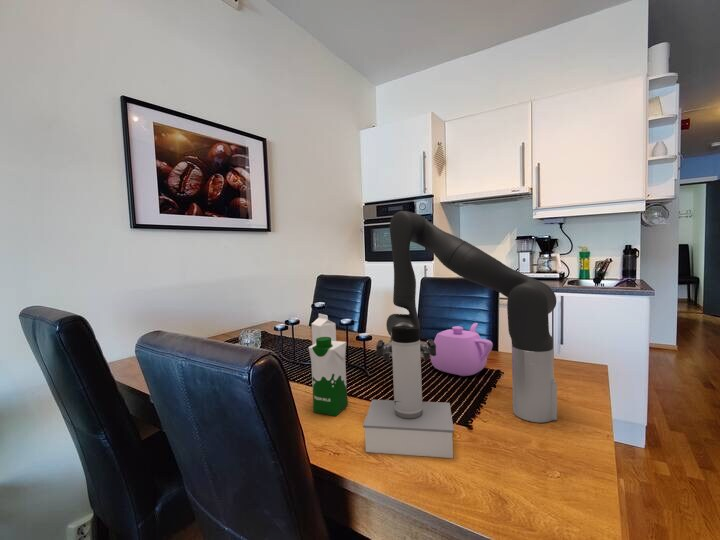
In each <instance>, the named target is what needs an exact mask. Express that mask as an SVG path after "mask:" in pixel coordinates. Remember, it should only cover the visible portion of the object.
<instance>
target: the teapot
mask: <svg viewBox="0 0 720 540" xmlns="http://www.w3.org/2000/svg"><path fill="white" fill-rule="evenodd" d="M478 324H479V323H478V322H474V323H473V324H472V325H471V326H470V328H469V330H464V327H462V326H458V325H455V326H452V327H451V328H450V329H446V330H442V331H440V332H437V334H436V336H435V338H434V340H433V341H434V343H435V344H436V356H432V355H431V354H430V363H431V365H432V366H433V367H434V369H436V370H439V371H440V372H443V373H447V374H451V375H458V376H459V377H467V376H469V377H470V376H473V375H476V374H478V373H479V372H481V371H482V370H484V368H485V367H486V365H487V362H488V355H489V354H490V353H491V352H492V350H493V348H494V347H493V346H494V344H493V342H492V341H491V340H489V339H485V338H482V337H481V336H480V334H479V333H478V332H477V327H478Z"/></svg>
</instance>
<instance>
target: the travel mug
mask: <svg viewBox="0 0 720 540" xmlns="http://www.w3.org/2000/svg"><path fill="white" fill-rule="evenodd" d="M391 330H392V356H391V357H392V377H393V378H392V380H393V400H394V405H395V406H394V408H395V414H396V415H397V416H399V417H401V418H405V419H413V418H417V417H419V416H421V415H422V413H423V408H422V402H423V388H422V387H423V386H422V381H423V380H422V363H421V362H422V359H421V355H420V341H421V339H420V331H419V327H413V326H412V327H405V326H394V327H391Z"/></svg>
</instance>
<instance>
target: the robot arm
mask: <svg viewBox="0 0 720 540" xmlns="http://www.w3.org/2000/svg"><path fill="white" fill-rule="evenodd" d="M389 237H390V244H391V253H392V261H393V262H392V263H393V294H392V295H393V297H392V298H393V300H392V302H393V305H394V306H395V307H399V308H401V309H405V310H406V311H407V312H408V314H404V313H392V314H390V315H389V316H388V317H387V319H386V325H385V326H386V330H387V331H386V332H388V335H389V336H390V340H389V341H388V342H385V341H384V340H383V339H379V340H378V341H377V344H376V347H375V348H376V349H375V350H376V357H382V356H383V360H386V362H390V357H392V330H391V327H394V326H405V327H412V326H413V327H419V332H420V330H421V325H420V320H419V317H418V316H419V315H418V313H417V307H416V295H417V290H416V289H417V280H416V274H415V270H414V267H413V264H412V260H411V253H410V252H411V251H410V250H411V249H410V248H411V246H410V245H411V243H415V244H417V245H419V246H422V247H423V248H425V249H427V250H429V251H430V252H431V253H432V254H433V255H434V256H435V257H436V259H438V261H439V262H440V263H441V264H442V265H443V266H444V267H445V268H446V269H448V270H449V271H451V272H453V273H454V274H456V275H457V276H459V277H461V278H463V279H464V280H467V281H469V282H471V283H474V284H477V285H481V286H483V287H486V288H489V289H491V290H494V291H496V292H498V293H499V294H501V295H503V296H504V297H506V298H507V302H506V305H507V306H506V310H507V327H508V334H509V337H510V340H511V369H512V370H511V371H512V372H511V373H512V377H511V378H512V380H511V381H512V382H511V383H512V384H511V385H512V412H513V414H514V415H515V416H516V417H517V418H519V419H522V420H524V421H527V422H532V423H548V422H551V421H558V383H557V380H556V379H554V338H553V337H552V335H551V333H550V324H549V314H551V313H552V312H553V311H554V309H555V308H556V306H557V296H556V294H555V292H554V290H553V289H552V288H551V287H550V285H548V284H546V283H544V282H542V281H540V280H538V279H535V278H533V277H531V276H528V275H527V274H525V273H524V274H523V273H522V272H519V271H517V270H515V269H513V268H511V267H509V266H507V265H506V264H504V263H503V262H501V261H500V260H498V259H497V258H495V257H493V256H492V255H490V254H489V253H487V252H485V251H483V250H482V249H480V248H479V247H477V246H475V245H473V244H471V243H470V242H468V241H466V240H465V239H461V238H460V237H457V236H456V235H453V234H451V233H449V232H446V231H444V230H442V229H440V228H439V227H438V226H436V225H435V224H433V223H432V222H431V221H429V219H427V218H425V217H424V216H423V215H421V214H419V213H416V212H412V211H408V210H407V211H406V210H399V211H397V212H395V213H394V214H393V215H392V217H391V219H390V223H389ZM420 355H421V356H422V357H423V362H428V360H431V355H432V356H436V344H435V343H434V340H433V339H432V338H429V339H427V340H426V342H423V341H422V340H420Z"/></svg>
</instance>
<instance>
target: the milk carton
mask: <svg viewBox="0 0 720 540" xmlns="http://www.w3.org/2000/svg"><path fill="white" fill-rule="evenodd" d="M346 350H347V341H341V340H336V341H331V338H330V337H320V338H317V339H316V344H314V345H313V344H311V345H310V346H308V352H309V357H310V362H311V380H312V381H311V382H312V383H311V385H312V405H313V406H312V407H313V411H312V412H313V413H315V414H316V413H317V414H320V415H321V414H323V415H327V416H333V417H337V416H338V415H339V414H340V413H341V412H342V411H343V410H344V409H345V408H346V407H347V406H348V405H349V402H348V401H349V400H348V391H347V390H348V389H347V370H346V367H347V366H346V353H347V351H346Z"/></svg>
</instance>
